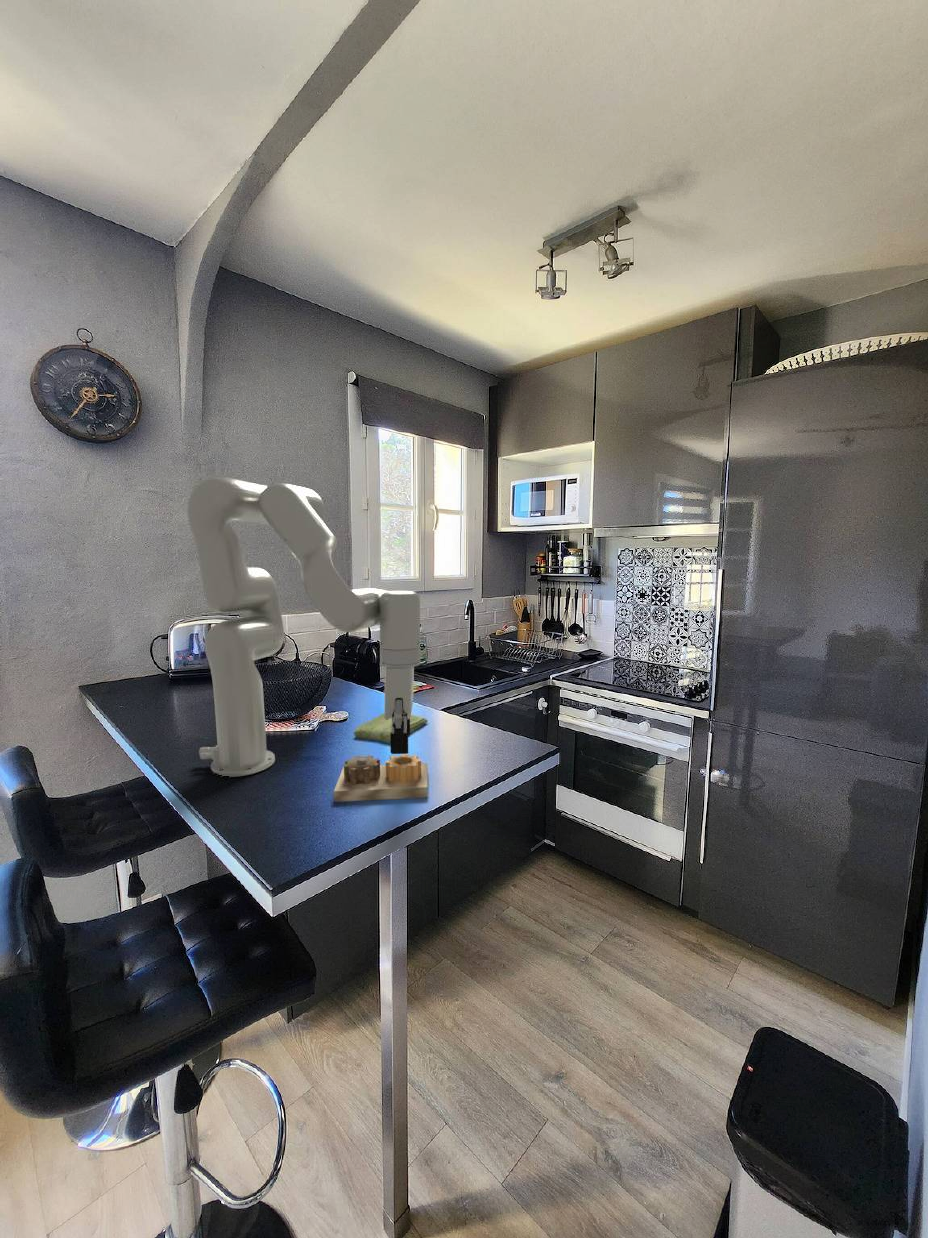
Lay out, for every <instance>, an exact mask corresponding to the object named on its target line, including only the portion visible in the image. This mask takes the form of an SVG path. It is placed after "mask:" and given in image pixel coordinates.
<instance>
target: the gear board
mask: <svg viewBox="0 0 928 1238" xmlns="http://www.w3.org/2000/svg"><path fill="white" fill-rule="evenodd" d="M400 764H408V763H407V762H402V763H400ZM428 771H429V770H428V763H427V762H425V763H422V762H421V776H418V780H416V781H408V782H406V783H401V782H396V781H394V782H390V781H389V777H386V764H381V759H380V758H379V757H378V758H375V757H374V756H373V755H367V756H361V755H357V756H354V757H353V758H351V759H347V760H345V761H344V764H343V767H342V769H341V773H340V775H339V777H338V780H337V782H336V785H335V786H334V789H333V802H335V803H338V802H339V803H341V802H358V801H359V802H361V801H381V800H384V801H385V800H402V799H403V800H406V799H407V800H408V799H422V798H423V799H425V797H428V786H429V785H428V783H429V780H428V775H429V774H428V773H429V772H428ZM428 798H429V797H428Z"/></svg>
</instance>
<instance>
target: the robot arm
mask: <svg viewBox="0 0 928 1238" xmlns="http://www.w3.org/2000/svg"><path fill="white" fill-rule="evenodd" d="M187 501H188V502H187V519H188V524H189V528H190V531H191V533H192V536H193V541H194V543H195V547H196V552H197V559H198V565H199V571H200V577H201V578H200V579H201V583H202V589H203V595H204V599H205V601H206V602H205V603H206V604H207V606H208V608H210V609H211V611H213V612H216V613H219V614H233V613H242V615H243V617H239V618H238V617H237V618H232V619H227V620H223V621H221V622H218V623H216V624H215V625H213V626H212V627H210V629H209V630H208V631H207V633H206V635H205V637H204V651H205V654H206V655H205V656H206V658H207V661H208V665H209V669H210V675H211V679H212V687H213V688H212V689H213V700H214V714H215V728H216V740H217V741H216V743H217V744H216V745H215V746H211V747H210V746H201V747H200V748H199V750H198V756H200V757H199V758H200V760H212V762H211V765H210V771H211V770H212V771H213V772H214V773H217V774H219V775H222V776H221V777H223V776H229V777H228V778H235V777H244V776H249V775H254V774H256V773H259V772H261V771H262V772H263V771H265V770H266V769H268V768H270V767H272V765H274V763H275V761H276V755H275V753H273V751H271V750H268V749H267V735H266V732H267V731H266V720H265V719H266V717H265V716H266V715H265V701H264V688H263V687H264V685H263V679H262V677H261V674H260V672H259V670H258V668H257V667H256V664H255V661H257V660H261V659H264V658H267V657H270V656H272V655H274V654H276V653H277V652H278V651H280V649H281V648H282V646H283V644H284V638H285V630H284V624H283V623H284V622H283V616H282V609H281V603H280V597H279V596H280V595H279V591H278V587H277V584H276V581H275V580H274V577H272V575H271V574H270V573H269V572H268V571H267V570H266V569H264V568H261V567H256V566H247V564H246V561H245V557H244V550H243V545H242V541H241V539H240V538H239V536H238V534H237V533H236V532H235V530H234V528H233V527H232V526H231V525H232V523H240V524H242V523H243V524H250V525H251V524H254V525H263V526H270V527H271V528H272V530H273V531H274V532H275V534H276V535H277V536H278V537H279V539H280V540H281V541H282V543H283V544H284V545H285V547H286V548H287V549H288V550H289V552H290V553H291V555H292V556H293V557H294V558H295V559H296V561H297V562H298V564H299V565H300V576H301V580H302V584H303V588H304V591H305V592H306V596H307V597H308V598H309V600H310V601H311V603H312V604H313V606H314V607H315V608H316V609H317V611H318V613H320V614H321V616H322V617H323V618H324V619H325V620H326V622H328V624H329V625H331V626H332V627H333V628H335V629H337V630H338V631H340V632H343V633H353V632H357V631H360V630H363V629H369V628H372V627H375V626H379V663H380V666H382V667H384V668H385V672H384V713H383V714H384V718H385V719H386V720H388V719H391V716H392V726H391V732H390V743H389V746H390V754H391V755H402V754H407V755H408V753H409V736H410V735H411V734H410V717H411V715H412V711H413V703H414V688H415V687H414V686H415V682H414V681H415V676H414V675H415V673H414V671H415V667H418V666H420V665H421V598H420V595H419V594H418V593H417V592H416V591H412V590H384V589H379V588H372V587H365V588H364V587H363V588H356V589H355V588H354V589H351V588H350V587H349V586H348V584H347V583H346V582H345V581H344V579H343V578H342V577H341V576H340V574H339V572H338V571H337V569H336V568H335V566H334V562H333V560H332V554H333V553H334V552H335V550H336V549H337V546H338V540H337V538H336V536H335V534H333V532H332V531H331V530H330V529H329V528H328V526H327V525H326V523H324V520H325V516H326V515H325V514H326V509H325V508H326V506H325V504H324V502H323V500H322V498H321V496H320V495H319V494H318V493H317V492H315V491H314V490H313V489H310V488H307V487H304V486H300V485H299V486H298V485H295V484H290V483H285V482H284V483H283V482H281V483H280V482H279V483H274V484H271V485H266V484H261V483H256V482H255V483H254V482H251V481H246V480H242V479H237V478H233V477H225V476H223V477H221V476H214V477H210V478H206V479H204V480H202V481H201V482H199V483H198V484H196V486H195V487H194V488H193V490H192V491H191V494H190V495H189V498H188V500H187ZM394 713H395V715H394ZM409 734H410V735H409ZM212 771H211V772H212ZM214 773H213V774H214Z"/></svg>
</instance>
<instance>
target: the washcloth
mask: <svg viewBox="0 0 928 1238" xmlns="http://www.w3.org/2000/svg"><path fill="white" fill-rule="evenodd" d="M394 715H395V713H394ZM428 721H429V720H428V719H427V718H425V717H423V716H419V715H414V714H411V717H410V734H409V735H408V736H410V735H411V734H412V733H413V732H415V731H417V730H418V729H420V727H422V726H424V725H425V724H427V723H428ZM391 726H392V716H391V719H388V720H386V719H385V718H384V713H381V714H379V715H378V716H376V717H374V718H372V719H371V720H368V721H366V722H364V723H362V724H360V725H358V726H357V727H356V729H354V732H353V735H354V737H355V738H358V739H365V740H369V741H371V740H374V741H380V742H381V743H387V744H390V732H391Z"/></svg>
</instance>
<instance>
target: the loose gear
mask: <svg viewBox="0 0 928 1238" xmlns="http://www.w3.org/2000/svg"><path fill="white" fill-rule="evenodd" d="M402 762H407V763H408V764H400V763H402ZM421 763H422V758H419V756H418V755H416V754H413V755H409V754H408V753H407V754H399V755H396V756H395V755H392V756H389V760H385V765H386V777H389V781H390V782H394V781H396V782H401V783H406V782H408V781H416V780H418V776H421Z"/></svg>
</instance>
